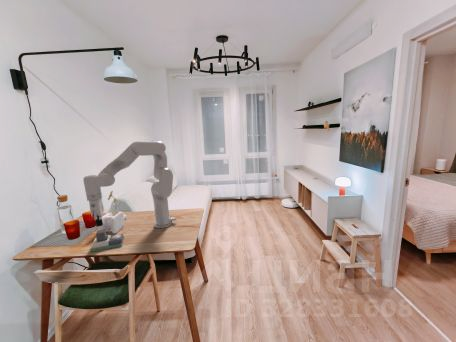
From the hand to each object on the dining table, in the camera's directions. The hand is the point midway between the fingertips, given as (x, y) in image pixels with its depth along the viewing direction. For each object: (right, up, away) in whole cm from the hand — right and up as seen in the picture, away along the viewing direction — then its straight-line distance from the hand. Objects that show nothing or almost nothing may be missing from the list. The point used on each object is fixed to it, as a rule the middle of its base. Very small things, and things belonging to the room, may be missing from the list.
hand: (99, 225), depth 129 cm
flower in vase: (-9, -6, +39) cm, 40 cm away
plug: (+1, -12, +2) cm, 12 cm away
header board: (+3, -12, +4) cm, 13 cm away
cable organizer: (-4, -9, +22) cm, 24 cm away
